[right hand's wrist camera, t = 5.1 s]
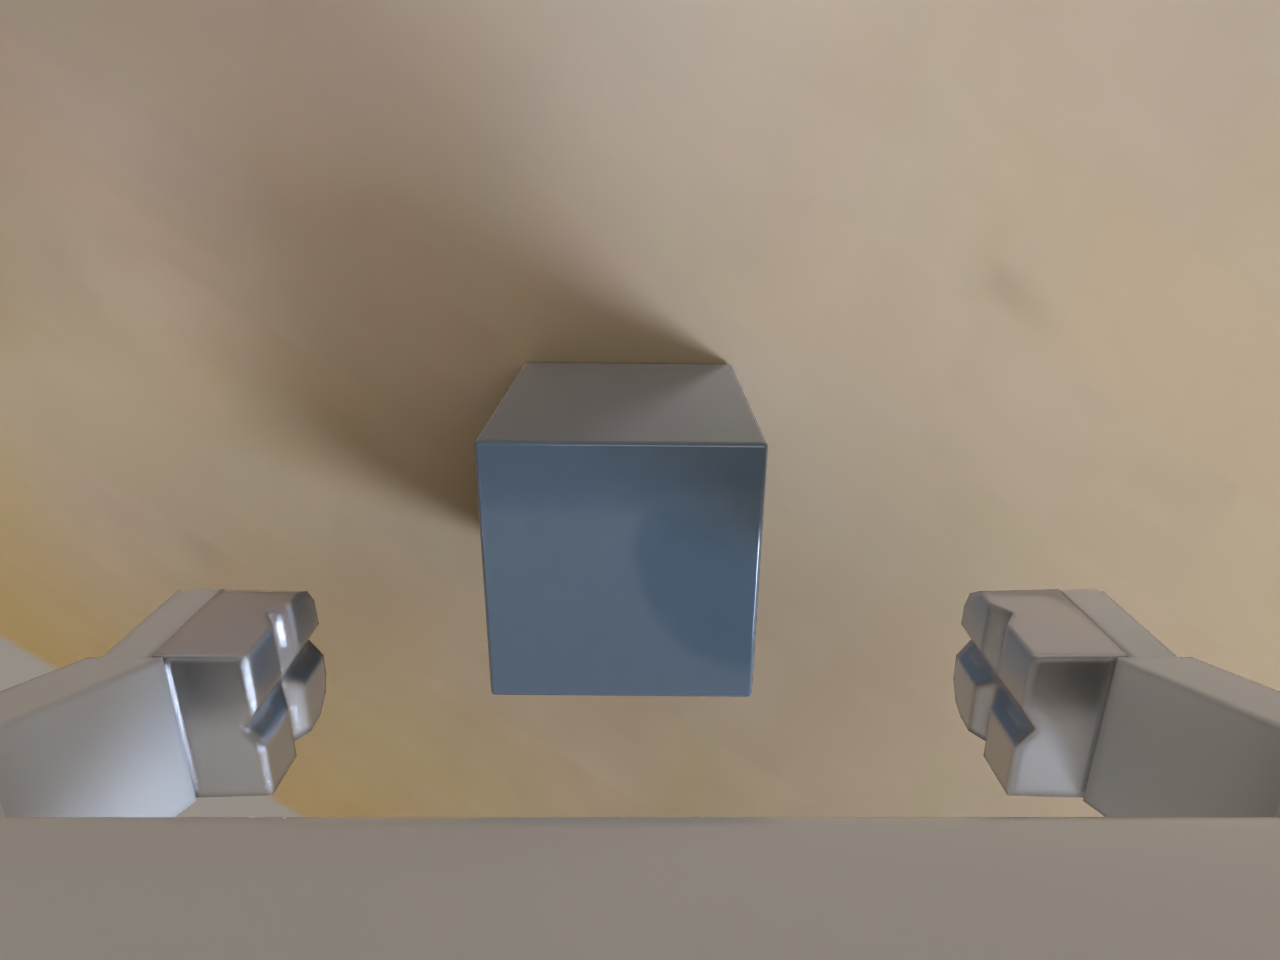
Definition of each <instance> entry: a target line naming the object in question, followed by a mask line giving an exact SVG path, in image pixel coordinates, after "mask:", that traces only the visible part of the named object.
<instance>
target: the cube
mask: <svg viewBox="0 0 1280 960" xmlns="http://www.w3.org/2000/svg"><path fill="white" fill-rule="evenodd" d="M474 448H475V463H476V477H477V492H478V506H479V521H480V536H481V550H482V565H483V579H484V594H485V608H486V623H487V637H488V652H489V666H490V681H491V691H492V693H493V694H502V695H616V696H729V697H748V696H750V695H751V693H752V680H753V665H754V650H755V635H756V620H757V604H758V589H759V574H760V559H761V544H762V528H763V513H764V498H765V483H766V468H767V453H768V446H767V443H766V441H765V439H764V436H763V434H762V432H761V430H760V428H759V425H758V423H757V421H756V419H755V417H754V414H753V412H752V410H751V408H750V406H749V403H748V401H747V399H746V397H745V395H744V392H743V390H742V388H741V386H740V384H739V381H738V379H737V377H736V375H735V373H734V370H733V368H732V366H731V365H729V364H626V363H525V364H524V365H523V367H522V368H521V370H520V371H519V373H518V375H517V376H516V378H515V379H514V381H513V383H512V384H511V386H510V387H509V389H508V390H507V392H506V394H505V395H504V397H503V398H502V400H501V401H500V403H499V405H498V406H497V408H496V409H495V411H494V413H493V414H492V416H491V417H490V419H489V420H488V422H487V424H486V425H485V427H484V428H483V430H482V431H481V433H480V435H479V436H478V438H477V439H476V441H475V444H474Z"/></svg>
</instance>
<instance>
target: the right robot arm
mask: <svg viewBox="0 0 1280 960" xmlns="http://www.w3.org/2000/svg"><path fill="white" fill-rule="evenodd" d="M318 624H319V623H318V618H317V613H316V608H315V603H314V600H313V598H312V597H311V596H310V595H309V594H308V592H307V591H266V590H224V589H200V590H180V591H177V592H176V593H175V594H174V595H172V596H171V597H170V598H169V599H168V600H167V601H166V602H164V603H163V604H162V605H161V606H160V607H159V608H158V609H156V610H155V611H154V612H153V613H152V614H151V615H150V616H149V617H147V618H146V619H145V620H144V621H143V622H142V623H141V624H139V625H138V626H137V627H136V628H135V629H134V630H133V631H131V632H130V633H129V634H128V635H127V636H126V637H125V638H123V639H122V640H121V641H120V642H119V643H118V644H117V645H115V646H114V647H113V648H112V649H111V650H110V651H109V652H107V653H106V654H105V655H104V656H103V657H88V658H85V659H83V660H80V661H78V662H75V663H73V664H70V665H67V666H65V667H62V668H60V669H57V670H55V671H52V672H49V673H47V674H44V675H42V676H39V677H37V678H34V679H31V680H29V681H26V682H24V683H21V684H18V685H16V686H13V687H11V688H8V689H6V690H3V691H0V960H1280V692H1279V691H1277V690H1274V689H1272V688H1269V687H1266V686H1264V685H1261V684H1259V683H1256V682H1254V681H1251V680H1249V679H1246V678H1243V677H1241V676H1238V675H1236V674H1233V673H1231V672H1228V671H1225V670H1223V669H1220V668H1218V667H1215V666H1213V665H1210V664H1207V663H1205V662H1202V661H1200V660H1197V659H1195V658H1192V657H1177V656H1176V655H1175V654H1174V653H1173V652H1171V651H1170V650H1169V649H1168V648H1167V647H1166V646H1165V645H1163V644H1162V643H1161V642H1160V641H1159V640H1158V639H1157V638H1156V637H1154V636H1153V635H1152V634H1151V633H1150V632H1149V631H1148V630H1146V629H1145V628H1144V627H1143V626H1142V625H1141V624H1140V623H1138V622H1137V621H1136V620H1135V619H1134V618H1133V617H1132V616H1131V615H1129V614H1128V613H1127V612H1126V611H1125V610H1124V609H1123V608H1121V607H1120V606H1119V605H1118V604H1117V603H1116V602H1115V601H1114V600H1112V599H1111V598H1110V597H1109V596H1108V595H1107V594H1106V593H1104V592H1103V591H1099V590H1095V589H1074V590H1059V589H1054V590H1012V591H979V592H974V593H970V594H969V597H968V599H967V601H966V603H965V606H964V611H963V617H962V623H961V624H962V626H963V627H964V629H965V630H966V632H967V633H968V635H969V637H970V638H971V640H970V641H969V643H968V644H967V645H966V646H965V647H964V648H963V649H962V650H961V651H960V652H959V653H958V654H957V655H956V662H955V671H954V689H955V700H956V704H957V707H958V710H959V713H960V716H961V718H962V720H963V722H964V723H965V725H966V727H967V729H968V730H969V731H970V732H972V733H973V734H975V735H977V736H978V737H980V738H981V739H983V740H985V741H986V744H985V750H984V757H985V759H986V761H987V762H988V764H989V766H990V767H991V769H992V771H993V772H994V774H995V775H996V777H997V779H998V780H999V782H1000V784H1001V785H1002V787H1003V789H1004V790H1005V792H1006V794H1007V795H1012V796H1049V797H1084V799H1083V801H1084V802H1086V803H1087V804H1089V805H1090V806H1091V807H1093V808H1094V809H1095V810H1097V811H1098V812H1099V813H1101V814H1102V815H1104V816H1105V817H175V816H177V815H178V814H179V813H181V812H182V811H184V810H185V809H186V808H188V807H189V806H190V805H192V804H193V803H194V802H196V797H229V796H265V795H273V794H274V792H275V790H276V789H277V787H278V785H279V784H280V782H281V780H282V779H283V777H284V776H285V774H286V772H287V771H288V769H289V767H290V766H291V764H292V762H293V761H294V759H295V757H296V750H295V744H294V741H295V740H297V739H299V738H300V737H302V736H303V735H305V734H307V733H308V732H310V731H311V730H312V729H313V727H314V725H315V723H316V721H317V720H318V718H319V716H320V714H321V710H322V706H323V702H324V698H325V693H326V668H325V661H324V655H323V654H322V653H321V652H320V651H319V650H318V649H317V648H316V647H315V646H314V645H313V644H312V643H311V641H310V640H309V638H310V637H311V635H312V633H313V632H314V630H315V629H316V627H317V626H318Z"/></svg>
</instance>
